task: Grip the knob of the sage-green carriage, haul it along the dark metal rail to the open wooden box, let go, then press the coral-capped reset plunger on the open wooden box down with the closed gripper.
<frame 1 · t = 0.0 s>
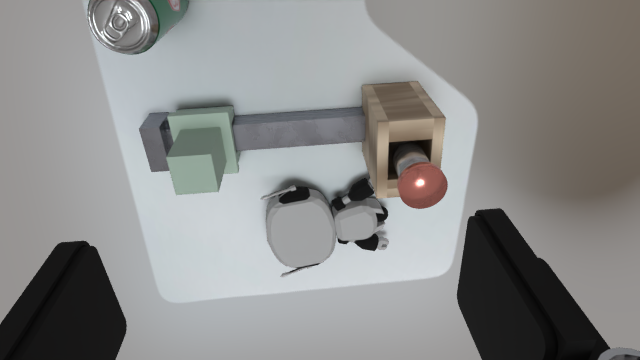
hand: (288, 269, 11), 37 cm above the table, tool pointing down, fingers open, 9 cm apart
robot toy: (325, 211, 56), on the table
rail: (272, 126, 49), on the table
carriage: (202, 151, 44), point 5 cm above the table, slide at 0.0 cm
plunger: (414, 170, 39), point 12 cm above the table, slide at 0.0 cm
open wooden box: (388, 117, 49), on the table
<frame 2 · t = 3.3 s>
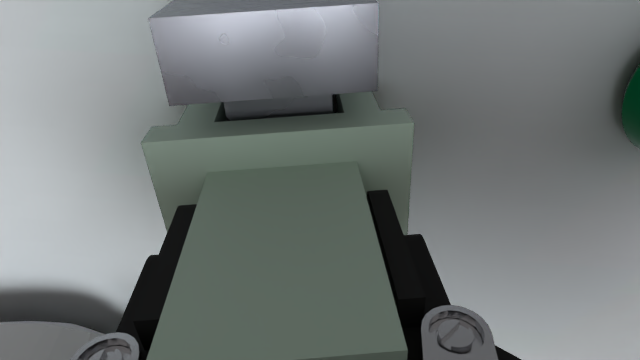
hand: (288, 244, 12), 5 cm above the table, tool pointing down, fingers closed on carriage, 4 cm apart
rail: (303, 300, 20), on the table
carriage: (288, 254, 12), point 5 cm above the table, slide at 0.0 cm, touching gripper
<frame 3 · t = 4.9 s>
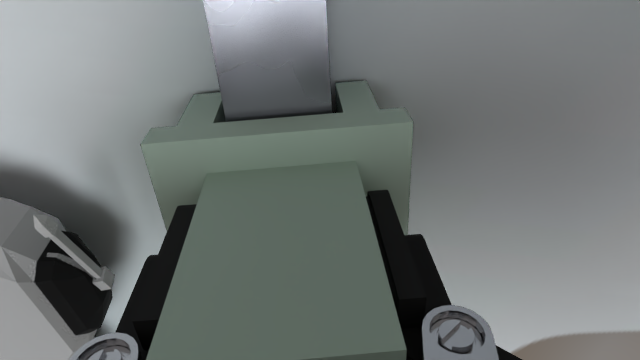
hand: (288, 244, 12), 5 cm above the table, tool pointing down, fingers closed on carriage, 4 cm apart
robot toy: (25, 304, 19), on the table
rail: (291, 182, 16), on the table
carriage: (289, 255, 12), point 5 cm above the table, slide at 6.2 cm, touching gripper
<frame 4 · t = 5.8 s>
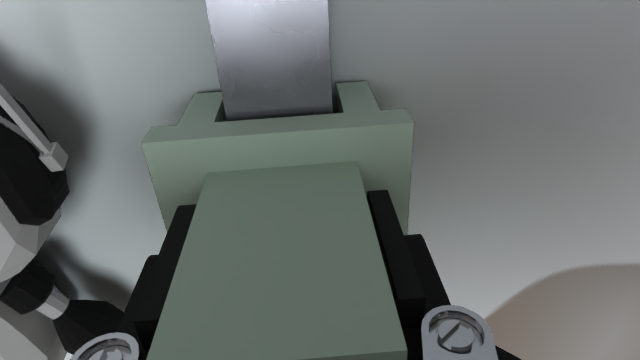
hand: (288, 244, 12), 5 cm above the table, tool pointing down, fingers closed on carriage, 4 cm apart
rail: (278, 57, 14), on the table
carriage: (288, 254, 12), point 5 cm above the table, slide at 10.9 cm, touching gripper
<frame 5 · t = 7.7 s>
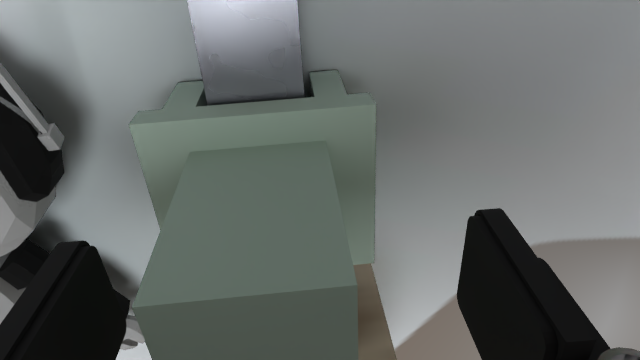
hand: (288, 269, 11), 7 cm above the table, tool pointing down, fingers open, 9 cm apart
rail: (255, 45, 15), on the table
carriage: (265, 225, 13), point 5 cm above the table, slide at 11.0 cm
open wooden box: (289, 309, 22), on the table
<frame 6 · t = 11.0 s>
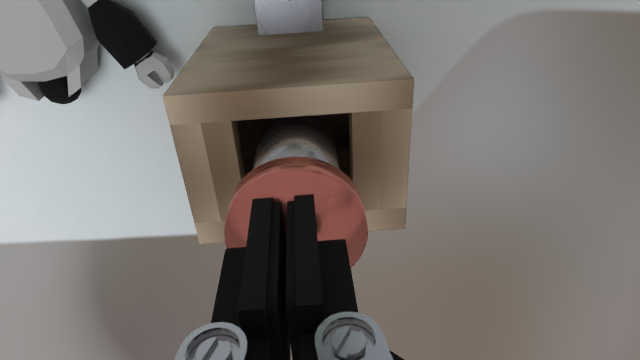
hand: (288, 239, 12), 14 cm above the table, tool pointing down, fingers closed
plunger: (296, 180, 15), point 11 cm above the table, slide at -1.2 cm, touching gripper
open wooden box: (296, 78, 24), on the table
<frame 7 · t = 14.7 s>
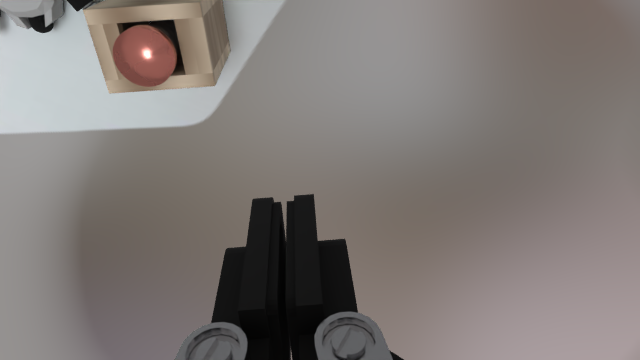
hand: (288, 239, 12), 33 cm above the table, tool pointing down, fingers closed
plunger: (155, 47, 32), point 9 cm above the table, slide at -2.8 cm
open wooden box: (181, 21, 40), on the table
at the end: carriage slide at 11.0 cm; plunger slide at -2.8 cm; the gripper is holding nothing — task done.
